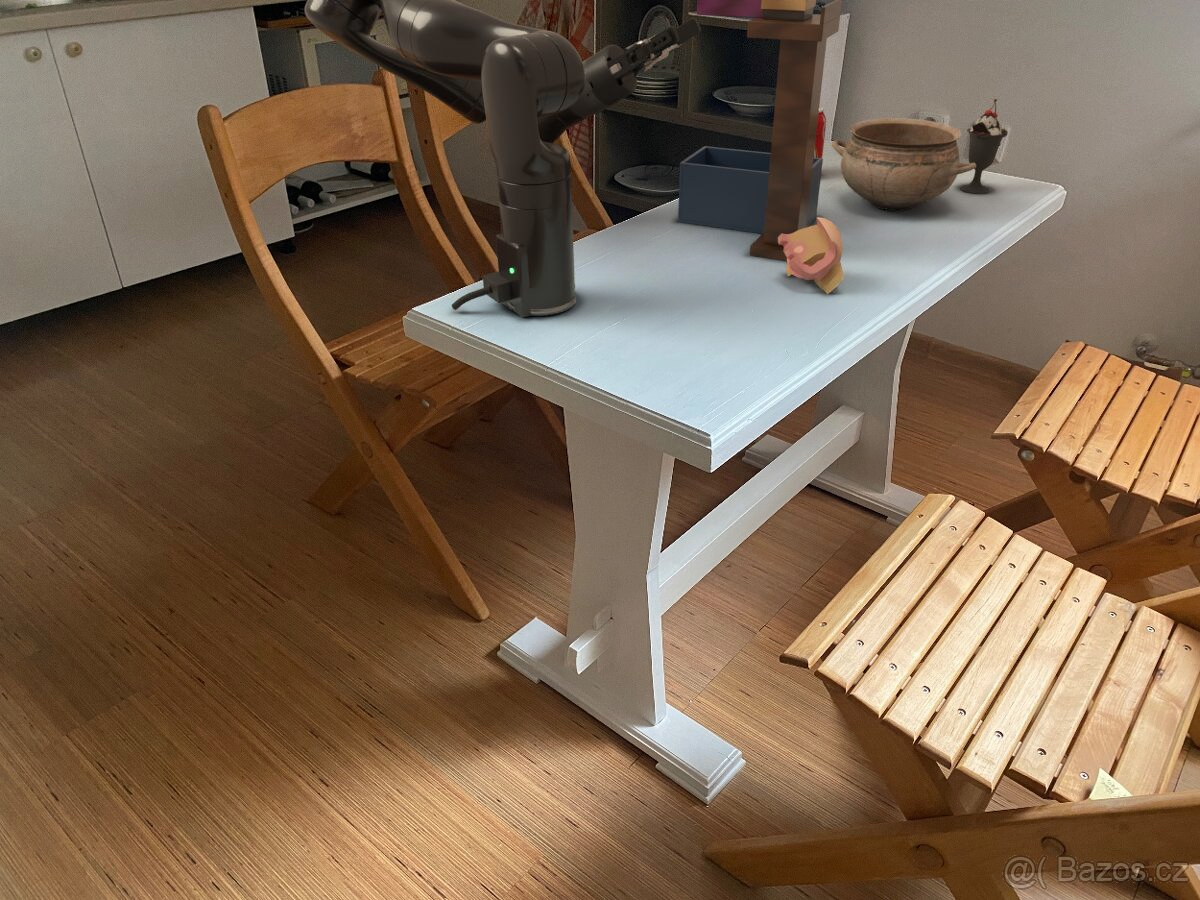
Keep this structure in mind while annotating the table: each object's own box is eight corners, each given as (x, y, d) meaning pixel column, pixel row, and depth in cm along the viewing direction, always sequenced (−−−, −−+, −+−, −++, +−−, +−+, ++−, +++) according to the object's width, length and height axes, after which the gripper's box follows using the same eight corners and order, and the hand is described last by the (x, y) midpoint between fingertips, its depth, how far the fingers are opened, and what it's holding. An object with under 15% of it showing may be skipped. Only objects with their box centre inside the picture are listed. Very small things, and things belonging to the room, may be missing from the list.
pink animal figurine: (791, 266, 131) (845, 224, 127) (821, 319, 127) (877, 277, 122) (759, 247, 125) (815, 202, 120) (789, 302, 120) (848, 258, 115)
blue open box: (677, 221, 147) (679, 163, 142) (701, 202, 156) (704, 146, 150) (797, 238, 140) (804, 177, 134) (816, 217, 148) (823, 158, 143)
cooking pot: (800, 204, 154) (808, 131, 147) (852, 178, 166) (861, 109, 159) (940, 234, 140) (956, 155, 133) (986, 204, 152) (1002, 130, 145)
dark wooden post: (732, 254, 135) (749, 4, 116) (751, 235, 141) (769, -4, 123) (800, 264, 131) (829, 7, 112) (816, 244, 137) (846, -2, 119)
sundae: (985, 183, 162) (1004, 96, 154) (1000, 194, 156) (1021, 104, 148) (949, 184, 162) (966, 97, 154) (963, 195, 156) (981, 105, 148)
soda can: (820, 181, 165) (828, 113, 158) (781, 179, 166) (787, 112, 159) (820, 170, 171) (827, 104, 164) (782, 169, 172) (788, 103, 165)
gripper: (629, 96, 142) (716, 46, 132) (589, 116, 131) (680, 62, 121) (607, 51, 139) (693, -4, 130) (565, 67, 129) (655, 8, 119)
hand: (687, 28), depth 125 cm, fingers open, 8 cm apart
